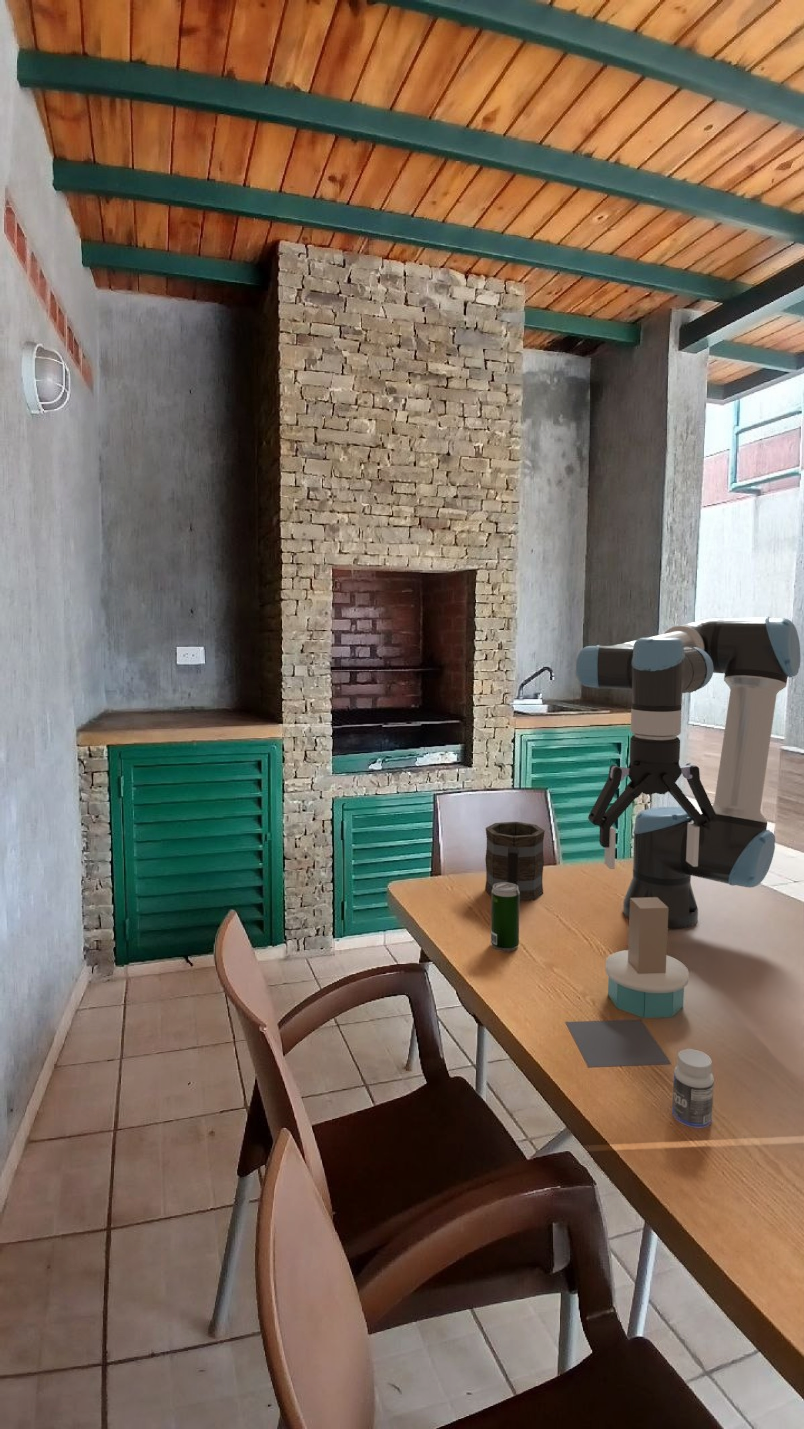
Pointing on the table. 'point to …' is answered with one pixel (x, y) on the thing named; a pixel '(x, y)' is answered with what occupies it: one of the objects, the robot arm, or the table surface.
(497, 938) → the beer can
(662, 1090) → the table surface
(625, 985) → the lid
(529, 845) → the mug
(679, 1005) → the bowl
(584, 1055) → the mat
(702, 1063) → the pill bottle
